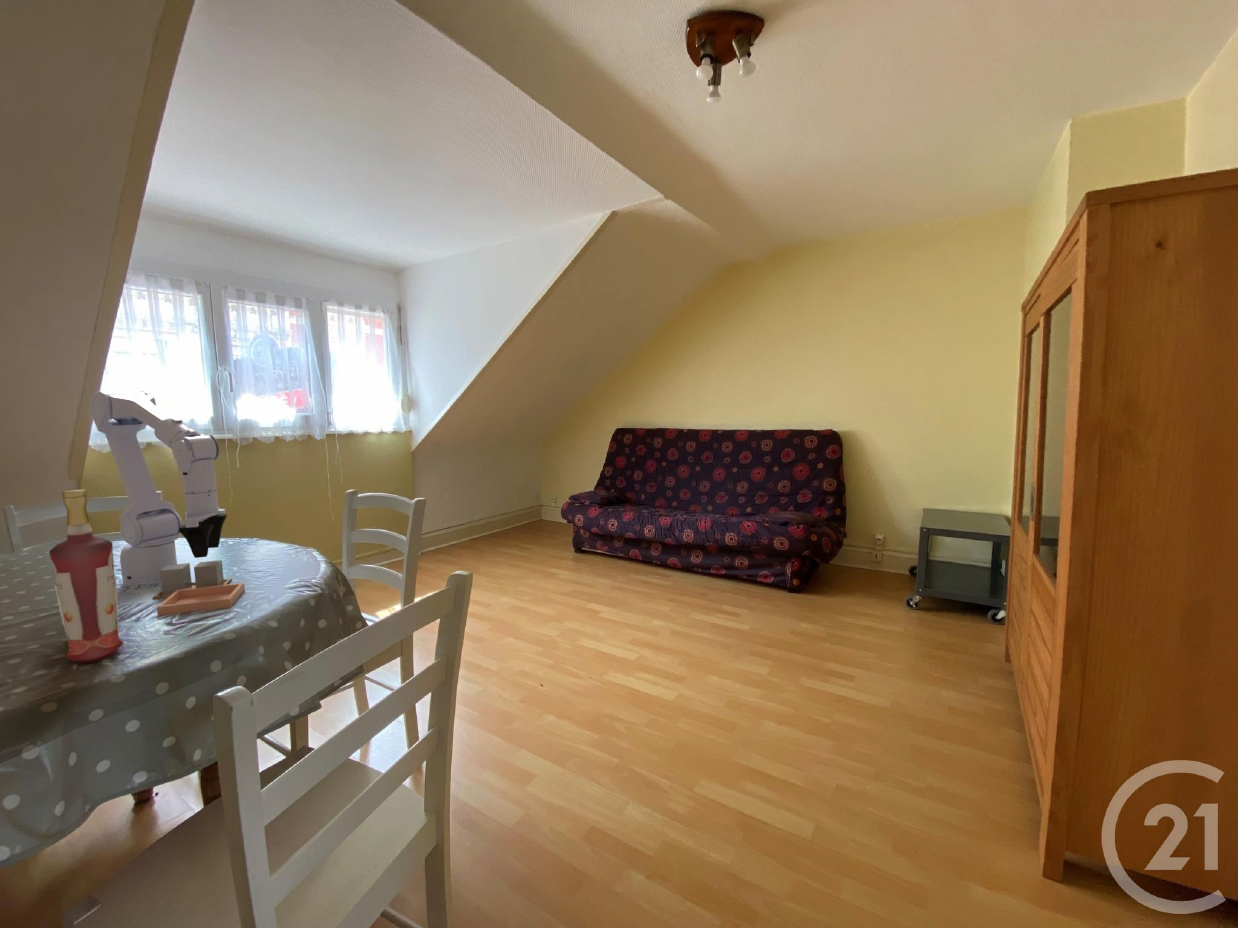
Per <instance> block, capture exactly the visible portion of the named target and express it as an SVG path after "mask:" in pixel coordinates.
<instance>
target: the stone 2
mask: <svg viewBox="0 0 1238 928" xmlns="http://www.w3.org/2000/svg"><path fill="white" fill-rule="evenodd" d="M223 568H224V567H223V559H219V560H211V561H209V560H208V561H200V562H199V563H197V564H196V565H195V566H194V567H193V571H194V572H193V573H194V580H195V581H194V582H195V583H196V588H199V587H208V586H218V585H223V584H224V579H225V578H224V570H223Z"/></svg>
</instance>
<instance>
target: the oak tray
mask: <svg viewBox="0 0 1238 928" xmlns="http://www.w3.org/2000/svg"><path fill="white" fill-rule="evenodd" d="M232 581H233V579H232V577H230V578H224V584H223V585H227V584H231V582H232ZM191 588H196V583H195V581H192V587H191ZM170 595H172V594H169V595H162V589H160V591H158V592H157V593H156V594H154V595H153V596H152V597H151V598H152V600H154V601H155V600H162V599H164V600H165V599H167V598H168V597H169V596H170Z"/></svg>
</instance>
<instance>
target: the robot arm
mask: <svg viewBox="0 0 1238 928" xmlns="http://www.w3.org/2000/svg"><path fill="white" fill-rule="evenodd" d="M89 411H90V414H91V417H92V420H93V423H94V424H95V426H96V429H97V432H99V433H102V434H104V435H105V438H106V441H107V443H108V445H109V449H110V451H111V455H112V457H113V459H114V463H115V465H116V468H117V472H118V474H119V477H120V479H121V482H122V485H123V487H124V490H125V493H126V496H127V498H128V503H129V504H130V505H129V506H128V507H127V508H126V509H124V511H123V512H121V513H120V515H119V517H118V519H119V522H120V523H119V524H120V534H121V537H122V539H123V540H124V542H125V543H127V544H126V545H124V546H123V547H122V549H121V551H120V554H119V555H120V557H119V563H120V572H121V578H122V585H121V587H130V586H139V585H151V584H161V578H160V570H161V569H163V568H164V567H165V566H167V565H174V564H178V562H177V561H178V560H177V559H178V558H177V551H176V542H175V541H177V540H179V538H178V536H180V535H182V536H183V537H184V538H185V540H186V542H187V544H188V546H189V548H190V551H191V553H192V555H193V558H194V559H197V558H206V557H208V554H209V549H214V548H219V547H220V542H221V536H222V535H221V534H222V530H223V525H224V524H225V521H226V519H227V516H228V515H227V513H226V511H227V510H226V508H220V505H219V497H218V488H217V487H218V485H217V476H216V467H215V461H216V460H217V459H218V458H219V456H220V453H221V452H220V450H221V449H220V445H219V442H218V440H217V439H216V438H215V437H214V435H212V434H209V433H207V434H203V433H199V432H198V431H197V430H195V429H194V428H192V427H190V426H189V425H188V424H186V423H185V422H184V421H183V419H182V418H179V417H168V416H167V415H166V414H165V413H164V412H163V411H162V410H161V409H159V408H158V406H157V403H156V399H155V396H153V395H151V393H149V392H148V391H145V390H143V391H142V390H141V391H99V390H98V391H95V392H94V393H93V395H91V398H90V403H89ZM147 426H148V427H149V428H152V429H153V430H154V431H153V433H154V436H155V438H156V439H158V440H159V441H160V442H161V443H163V444H164V445H165V446H167V447H168V448H169V449H170V450H171V452H172V455H173V459H174V460H175V461H176V465H177V469H178V471H179V472H180V473H181V478H182V487H183V497H184V506H185V513H184V514H185V515H184V516H185V518H184V522H183V519H182V517H181V515H180V514H179V513H178V512H177V510H176V508H175V506H174V504H173V503H172V502H169V501H166V500H164V499H161V498H160V497H159V495H158V492H157V490H156V487H155V484H154V481H153V479H152V476H151V473H150V470H149V468H148V465H147V462H146V459H145V457H144V453H143V451H142V448H141V446H140V443H139V441H138V437H137V434H138V433H139V432H141V431H143V430H145V429H146V427H147ZM184 523H185V524H184Z"/></svg>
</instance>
